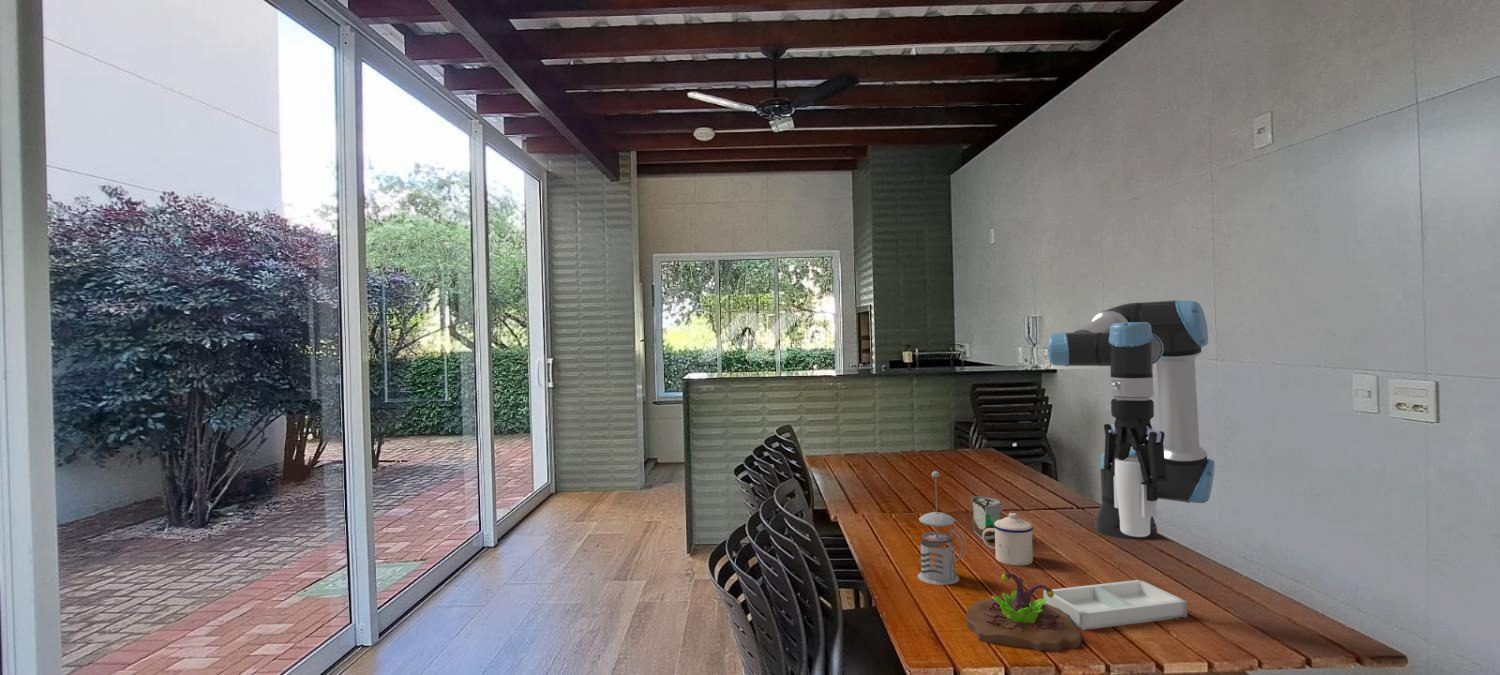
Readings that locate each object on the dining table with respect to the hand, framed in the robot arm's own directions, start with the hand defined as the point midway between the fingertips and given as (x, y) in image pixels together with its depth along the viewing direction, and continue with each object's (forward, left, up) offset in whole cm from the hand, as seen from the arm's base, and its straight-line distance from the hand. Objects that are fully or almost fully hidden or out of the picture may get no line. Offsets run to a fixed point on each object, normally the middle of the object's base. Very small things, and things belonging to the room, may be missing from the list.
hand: (1134, 511), depth 135 cm
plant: (+27, +2, -21) cm, 34 cm away
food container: (+1, -52, -20) cm, 56 cm away
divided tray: (+5, 0, -20) cm, 21 cm away
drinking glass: (0, 0, -5) cm, 5 cm away
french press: (+29, -26, -20) cm, 44 cm away
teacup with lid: (+8, -34, -20) cm, 40 cm away
